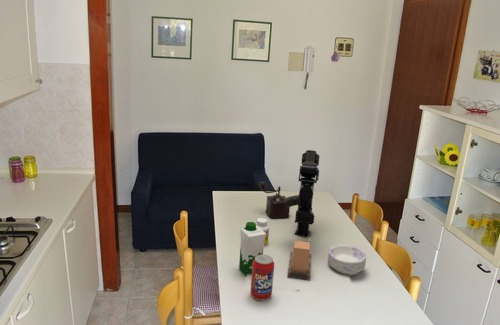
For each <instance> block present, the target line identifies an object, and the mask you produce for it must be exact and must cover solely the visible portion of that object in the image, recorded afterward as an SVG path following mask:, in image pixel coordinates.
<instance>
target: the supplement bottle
mask: <svg viewBox="0 0 500 325" xmlns="http://www.w3.org/2000/svg"><path fill="white" fill-rule="evenodd" d="M256 226H258V227H259V228H260V229H262V230H263V231H264V232H265V233H266V237H265V240H264V247H266V246H268V244H269V234H270V233H269V232H270V226H269V225H268V219H266V218H264V217H260V218H259V217H258V218H257V219H256Z"/></svg>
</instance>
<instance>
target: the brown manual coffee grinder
mask: <svg viewBox="0 0 500 325" xmlns="http://www.w3.org/2000/svg"><path fill="white" fill-rule="evenodd" d="M258 186H259V187H260V191H262V192H264V193H265V194H272V193H275V194H274V195H267V196H266V205H265V206H266V208H265V214H266V216H267V217H268V218H269V220H284V219H285V220H286V219H287V220H288V219H289V218H290V208H291V207H288V206H287V202H286V198H287V197H286V195H281V186H277V189H276V190H269V191H266V186H267V183H266V182H265V181H260V182H259V183H258Z"/></svg>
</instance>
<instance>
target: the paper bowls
mask: <svg viewBox="0 0 500 325" xmlns="http://www.w3.org/2000/svg"><path fill="white" fill-rule="evenodd" d="M366 255H367V254H366V253H365V252H364V251H363V250H361V249H360V248H359V247H356V246H354V245H353V246H352V245H348V244H347V245H345V244H338V245H334V246H332V247H330V248H329V250H328V255H327V263H328V265H329V266H330V267H331V268H333V270H335V271H336V272H339V273H341V274H345V275H349V277H351V276H354V275H357V274H358V273H359V272H362V271H363V270H365V267H366V264H367V263H366V261H367V256H366Z"/></svg>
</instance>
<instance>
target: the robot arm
mask: <svg viewBox="0 0 500 325" xmlns="http://www.w3.org/2000/svg"><path fill="white" fill-rule="evenodd" d="M301 155H302V156H301V165H300V168H299V174H298V175H299V176H298V182H300V185H299V186H300V187H299V192H298V194H297V195H291V196H287V197H286V202H287V206H288V207H290V208H291V207H295V206H297V210H295V218H294V223H295V224H296V223H297V225H296V226H297V227H296V231H295V232H294V235H297V236H300V237H306V238H307V237H309V235H310V234H311V232H312V231H311V230H310V225H313V224H314V223H315V213H314V212H313V207H312V206H313V197H314V189H315V188H314V187H315V184H317V181H319V176H320V175H319V174H320V169H319V167H318V166H319V165H320V154H318V153H317V151H316V150H313V149H311V150H310V149H307V150H305V152H304V153H302V154H301Z"/></svg>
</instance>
